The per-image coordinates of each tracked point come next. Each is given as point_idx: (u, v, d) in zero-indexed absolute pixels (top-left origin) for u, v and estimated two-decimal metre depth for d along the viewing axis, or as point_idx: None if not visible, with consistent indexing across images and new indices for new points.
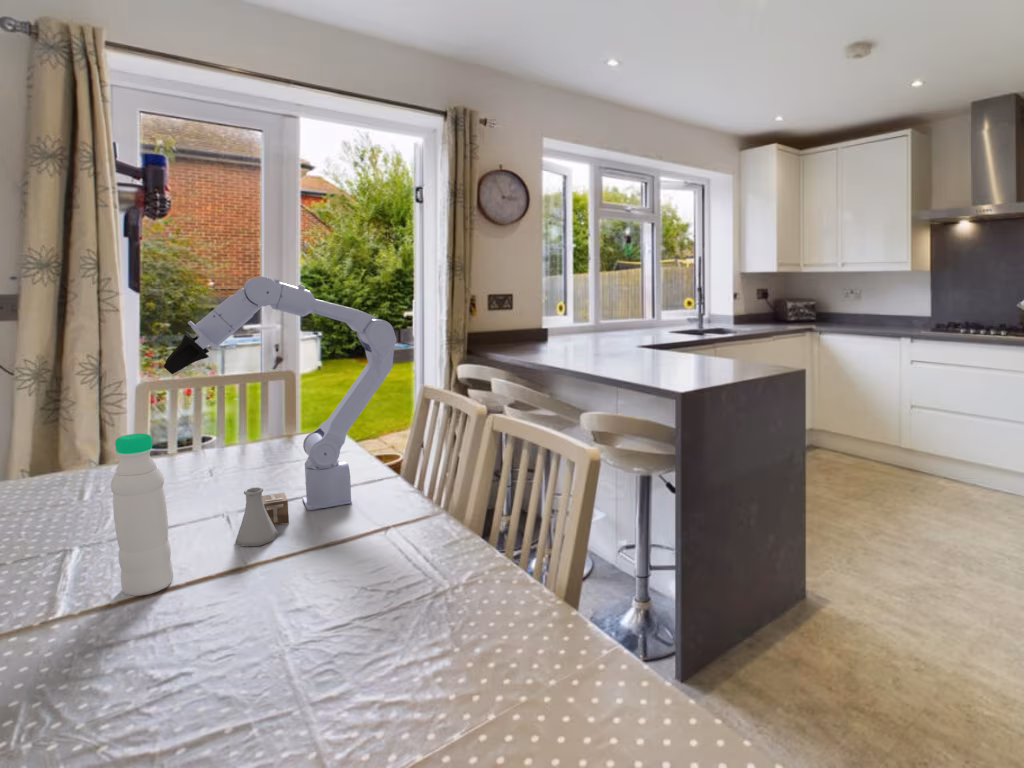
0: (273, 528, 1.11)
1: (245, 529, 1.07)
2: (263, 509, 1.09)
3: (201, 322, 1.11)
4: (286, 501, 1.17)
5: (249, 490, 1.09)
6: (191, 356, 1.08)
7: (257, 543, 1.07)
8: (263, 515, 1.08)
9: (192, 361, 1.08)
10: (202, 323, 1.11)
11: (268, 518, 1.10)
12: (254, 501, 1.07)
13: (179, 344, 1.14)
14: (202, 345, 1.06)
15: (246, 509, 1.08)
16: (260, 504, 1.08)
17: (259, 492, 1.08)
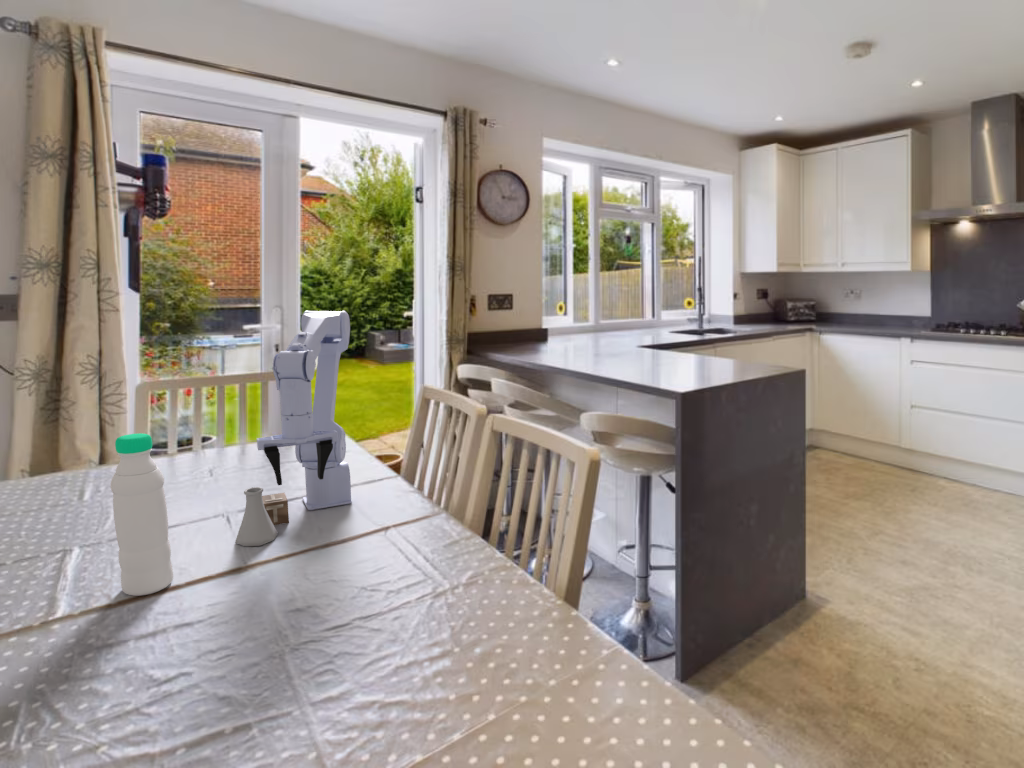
0: (273, 528, 1.11)
1: (245, 529, 1.07)
2: (263, 509, 1.09)
3: (306, 431, 1.09)
4: (286, 501, 1.17)
5: (249, 490, 1.09)
6: None
7: (257, 543, 1.07)
8: (263, 515, 1.08)
9: None
10: (309, 430, 1.09)
11: (268, 518, 1.10)
12: (254, 501, 1.07)
13: None
14: None
15: (246, 509, 1.08)
16: (260, 504, 1.08)
17: (259, 492, 1.08)
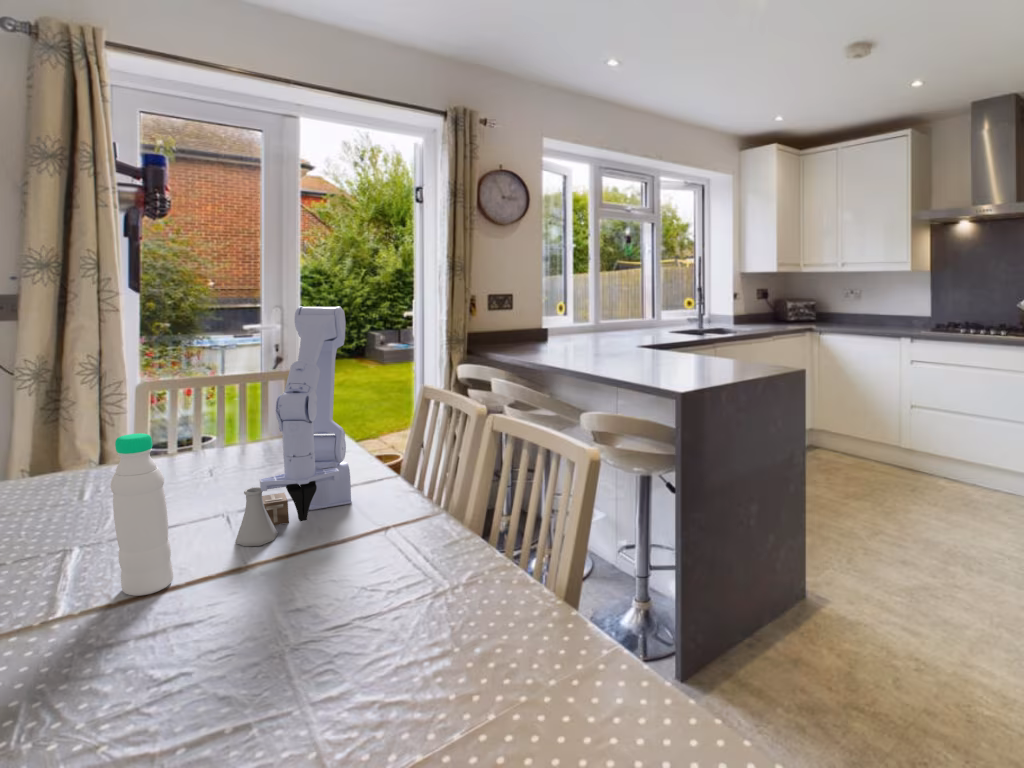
0: (273, 528, 1.11)
1: (245, 529, 1.07)
2: (263, 509, 1.09)
3: (309, 471, 1.10)
4: (286, 501, 1.17)
5: (249, 490, 1.09)
6: None
7: (257, 543, 1.07)
8: (263, 515, 1.08)
9: None
10: (311, 470, 1.11)
11: (268, 518, 1.10)
12: (254, 501, 1.07)
13: (302, 501, 1.11)
14: None
15: (246, 509, 1.08)
16: (260, 504, 1.08)
17: (259, 492, 1.08)
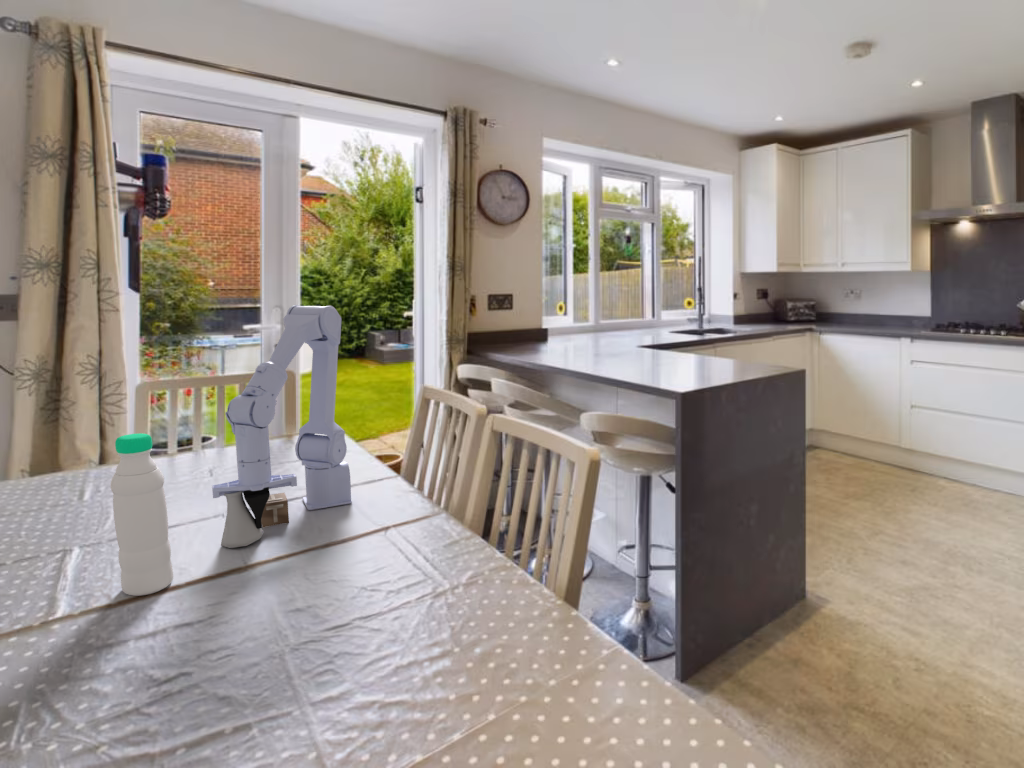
0: None
1: (229, 531, 1.06)
2: (245, 509, 1.07)
3: (263, 477, 1.06)
4: (286, 501, 1.17)
5: None
6: None
7: (243, 543, 1.05)
8: (246, 515, 1.07)
9: None
10: (266, 476, 1.07)
11: (252, 517, 1.08)
12: (235, 502, 1.06)
13: (259, 508, 1.07)
14: None
15: (228, 511, 1.06)
16: (242, 504, 1.07)
17: (239, 492, 1.06)
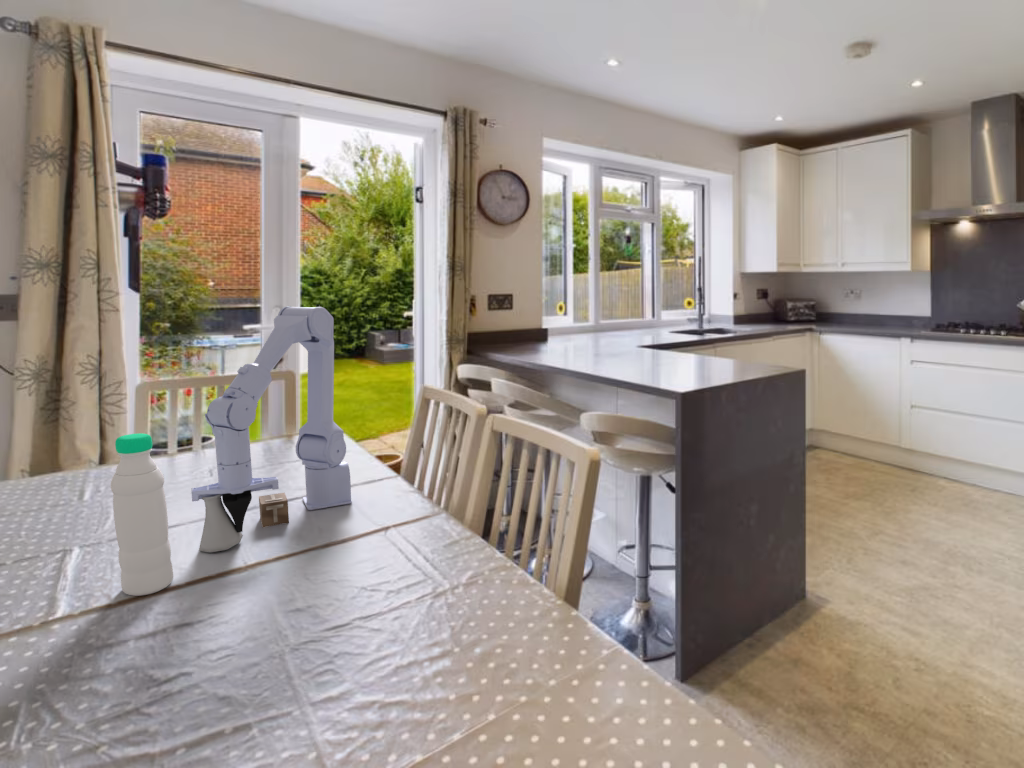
0: None
1: (208, 536, 1.04)
2: (224, 512, 1.06)
3: (244, 480, 1.05)
4: (286, 501, 1.17)
5: None
6: None
7: (223, 547, 1.04)
8: (225, 518, 1.05)
9: None
10: (246, 479, 1.05)
11: (231, 521, 1.07)
12: (214, 506, 1.04)
13: (238, 511, 1.06)
14: None
15: (206, 515, 1.04)
16: (221, 508, 1.05)
17: (218, 496, 1.04)
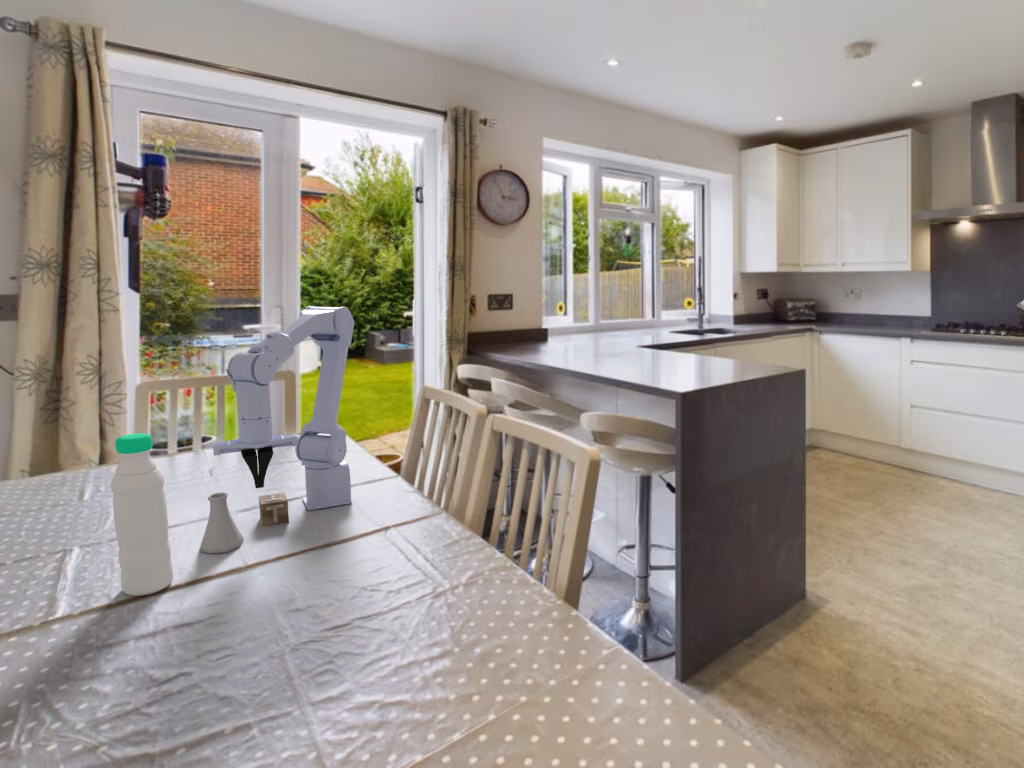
0: (239, 534, 1.08)
1: (210, 536, 1.04)
2: (228, 514, 1.06)
3: (264, 435, 1.05)
4: (286, 501, 1.17)
5: (213, 496, 1.06)
6: None
7: (223, 550, 1.04)
8: (229, 521, 1.06)
9: None
10: (267, 434, 1.06)
11: (233, 524, 1.07)
12: (219, 507, 1.04)
13: (257, 467, 1.06)
14: None
15: (210, 515, 1.05)
16: (225, 509, 1.05)
17: (224, 497, 1.05)
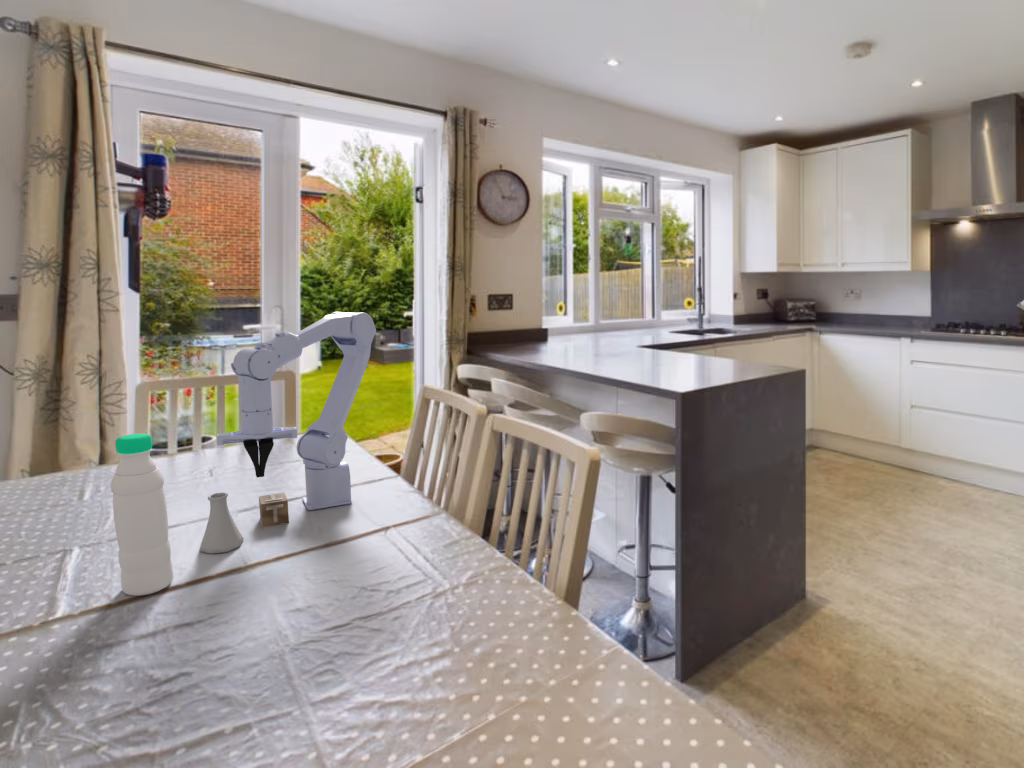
0: (239, 534, 1.08)
1: (210, 536, 1.04)
2: (228, 514, 1.06)
3: (265, 427, 1.12)
4: (286, 501, 1.17)
5: (213, 496, 1.06)
6: None
7: (223, 549, 1.04)
8: (229, 521, 1.06)
9: None
10: (268, 426, 1.12)
11: (233, 524, 1.07)
12: (219, 507, 1.04)
13: (258, 457, 1.13)
14: None
15: (210, 515, 1.05)
16: (225, 509, 1.05)
17: (224, 497, 1.05)
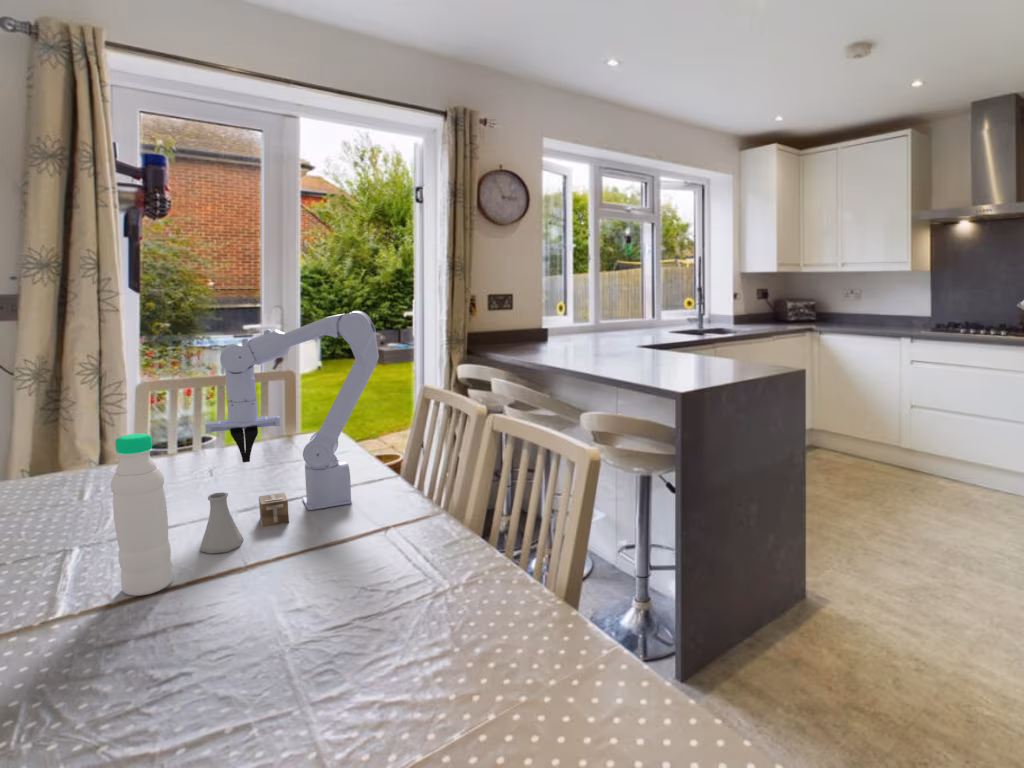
0: (239, 534, 1.08)
1: (210, 536, 1.04)
2: (228, 514, 1.06)
3: (250, 416, 1.21)
4: (286, 501, 1.17)
5: (213, 496, 1.06)
6: None
7: (223, 550, 1.04)
8: (229, 521, 1.06)
9: None
10: (252, 415, 1.22)
11: (233, 524, 1.07)
12: (219, 507, 1.04)
13: None
14: None
15: (210, 515, 1.05)
16: (225, 509, 1.05)
17: (224, 497, 1.05)
